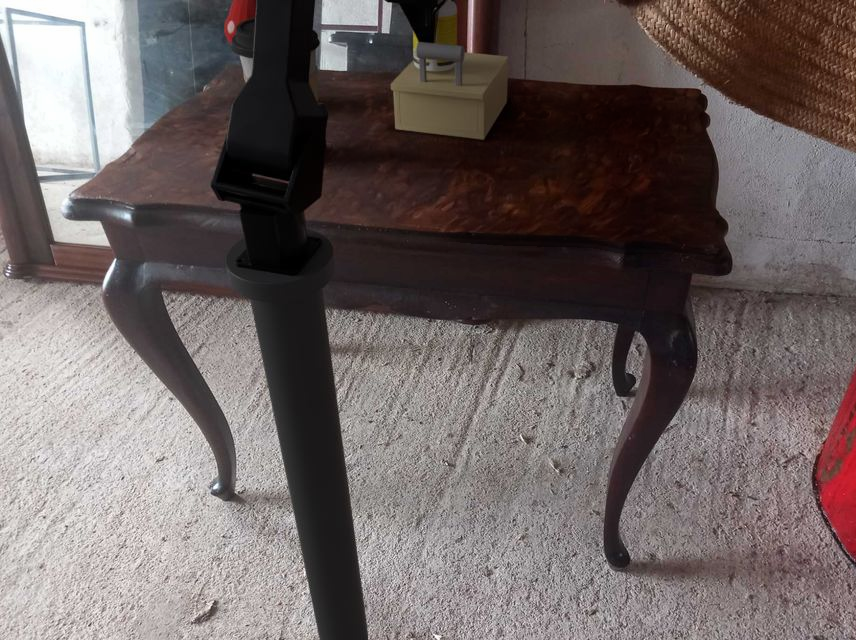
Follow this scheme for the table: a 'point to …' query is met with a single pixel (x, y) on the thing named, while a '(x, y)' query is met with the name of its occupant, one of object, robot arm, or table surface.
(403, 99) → the wooden box
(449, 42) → the supplement bottle
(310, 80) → the coffee cup
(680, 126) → the table surface
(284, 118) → the robot arm
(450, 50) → the lid
